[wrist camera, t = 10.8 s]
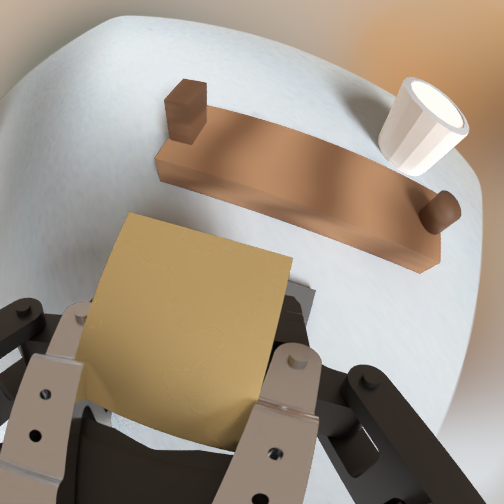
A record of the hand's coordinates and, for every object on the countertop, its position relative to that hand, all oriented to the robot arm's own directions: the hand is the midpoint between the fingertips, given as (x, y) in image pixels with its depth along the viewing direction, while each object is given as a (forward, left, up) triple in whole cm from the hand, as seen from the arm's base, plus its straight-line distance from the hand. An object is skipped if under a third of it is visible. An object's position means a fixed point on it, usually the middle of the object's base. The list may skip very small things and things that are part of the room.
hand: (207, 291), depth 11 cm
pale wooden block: (0, -2, -4) cm, 4 cm away
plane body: (+3, +10, -6) cm, 12 cm away
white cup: (+11, +19, -6) cm, 23 cm away
